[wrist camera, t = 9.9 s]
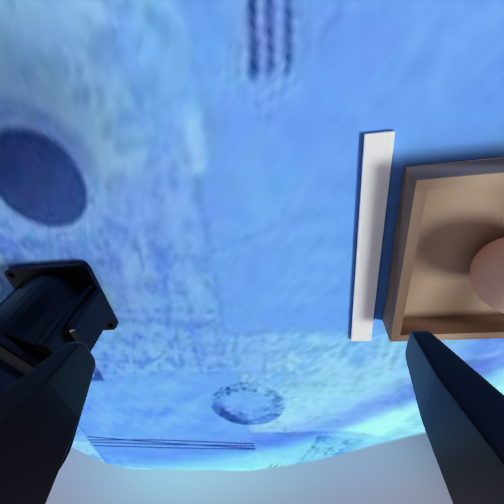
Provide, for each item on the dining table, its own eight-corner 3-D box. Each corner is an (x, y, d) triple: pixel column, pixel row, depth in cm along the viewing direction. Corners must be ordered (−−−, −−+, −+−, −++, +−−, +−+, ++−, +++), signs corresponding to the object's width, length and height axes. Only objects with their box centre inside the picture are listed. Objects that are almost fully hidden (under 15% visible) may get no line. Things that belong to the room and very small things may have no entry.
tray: (382, 320, 24) (390, 341, 23) (404, 166, 18) (416, 180, 16) (559, 313, 23) (580, 335, 21) (655, 142, 16) (697, 155, 15)
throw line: (350, 339, 26) (351, 341, 26) (364, 133, 17) (364, 134, 17) (370, 338, 26) (370, 340, 25) (393, 130, 17) (395, 131, 17)
